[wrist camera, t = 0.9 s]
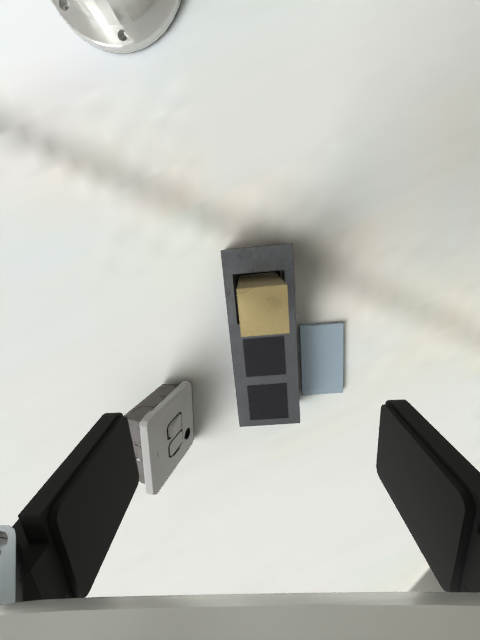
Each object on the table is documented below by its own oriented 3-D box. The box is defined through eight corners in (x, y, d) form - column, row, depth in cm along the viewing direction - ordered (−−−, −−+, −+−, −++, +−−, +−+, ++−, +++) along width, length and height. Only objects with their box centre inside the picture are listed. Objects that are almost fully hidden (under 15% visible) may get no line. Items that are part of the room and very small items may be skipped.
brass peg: (240, 275, 31) (236, 289, 21) (274, 272, 31) (287, 284, 21) (243, 309, 32) (240, 337, 23) (277, 306, 32) (289, 333, 22)
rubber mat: (299, 325, 32) (300, 326, 32) (341, 321, 32) (343, 323, 32) (301, 392, 35) (302, 395, 34) (341, 389, 35) (342, 392, 34)
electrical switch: (194, 440, 37) (169, 500, 28) (158, 436, 38) (122, 495, 29) (192, 377, 35) (163, 422, 26) (153, 375, 35) (112, 418, 27)
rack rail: (224, 249, 30) (220, 250, 26) (286, 243, 30) (292, 243, 26) (240, 407, 36) (239, 426, 32) (294, 403, 35) (300, 423, 31)
